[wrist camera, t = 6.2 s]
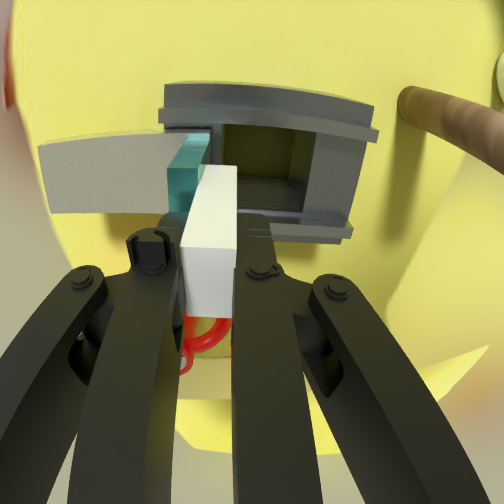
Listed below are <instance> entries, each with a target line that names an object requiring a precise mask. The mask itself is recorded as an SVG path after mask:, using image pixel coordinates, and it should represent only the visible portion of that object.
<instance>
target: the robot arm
mask: <svg viewBox="0 0 504 504" xmlns="http://www.w3.org/2000/svg"><path fill="white" fill-rule="evenodd" d="M126 244H127V249H128V253H129V258H130V263H131V267H130V270H129V271H128V272H126V273H123V274H118V275H113V276H107V277H104V274H103V272H102V271H101V269H100V268H98V267H96V266H92V265H85V266H80V267H77V268H75V269H73V270H71V271H70V272H69V273H68V274H67V275H66V276H65V277H64V278H63V279H62V280H61V281H60V282H59V283H58V285H57V286H56V287H55V288H54V289H53V290H52V291H51V293H50V294H49V295H48V296H47V297H46V299H45V300H44V301H43V302H42V303H41V304H40V306H39V307H38V308H37V310H36V311H35V312H34V313H33V314H32V316H31V317H30V318H29V320H28V321H27V322H26V323H25V325H24V326H23V327H22V329H21V330H20V331H19V333H18V334H17V335H16V337H15V338H14V339H13V341H12V342H11V343H10V345H9V346H8V348H7V349H6V351H5V352H4V354H3V355H2V356H1V358H0V504H46V503H47V501H48V498H49V496H50V493H51V490H52V488H53V486H54V483H55V481H56V478H57V476H58V474H59V471H60V469H61V467H62V464H63V462H64V460H65V458H66V455H67V453H68V451H69V449H70V447H71V444H72V442H73V440H74V438H75V436H76V434H77V438H76V443H75V449H74V454H73V461H72V466H71V473H70V481H69V489H68V499H67V504H171V477H172V458H173V457H172V456H173V442H174V428H175V416H176V405H177V395H178V384H179V376H180V367H181V359H182V351H183V343H184V335H185V323H184V315H185V308H186V315H187V316H194V317H215V318H232V330H231V373H232V374H231V377H232V378H231V380H232V381H231V384H232V385H231V387H232V388H231V390H232V391H231V393H232V457H233V459H232V460H233V495H234V504H323V499H322V491H321V484H320V476H319V469H318V462H317V455H316V448H315V441H314V435H313V428H312V422H311V416H310V410H309V404H308V398H307V392H306V386H305V380H304V374H305V376H306V378H307V380H308V382H309V385H310V387H311V389H312V391H313V393H314V395H315V397H316V400H317V402H318V404H319V406H320V408H321V410H322V412H323V415H324V417H325V419H326V421H327V423H328V425H329V427H330V429H331V432H332V434H333V436H334V438H335V440H336V442H337V444H338V447H339V449H340V451H341V453H342V455H343V457H344V459H345V461H346V463H347V466H348V468H349V470H350V472H351V474H352V476H353V478H354V480H355V482H356V485H357V487H358V489H359V491H360V493H361V495H362V497H363V499H364V502H365V504H491V503H490V501H489V499H488V496H487V494H486V492H485V490H484V488H483V486H482V484H481V481H480V479H479V477H478V475H477V473H476V472H475V469H474V468H473V466H472V464H471V462H470V460H469V458H468V456H467V454H466V452H465V450H464V449H463V447H462V445H461V443H460V441H459V440H458V438H457V436H456V434H455V432H454V431H453V429H452V427H451V425H450V424H449V422H448V420H447V419H446V417H445V415H444V414H443V412H442V410H441V409H440V407H439V405H438V404H437V402H436V400H435V399H434V397H433V396H432V394H431V392H430V391H429V389H428V388H427V386H426V384H425V383H424V381H423V380H422V378H421V377H420V375H419V374H418V372H417V371H416V369H415V368H414V366H413V365H412V363H411V362H410V360H409V359H408V357H407V356H406V354H405V353H404V351H403V350H402V348H401V347H400V345H399V344H398V342H397V341H396V340H395V338H394V337H393V335H392V334H391V332H390V331H389V330H388V328H387V327H386V325H385V324H384V323H383V321H382V320H381V318H380V317H379V316H378V314H377V313H376V312H375V310H374V309H373V307H372V306H371V305H370V303H369V302H368V301H367V299H366V298H365V297H364V295H363V294H362V293H361V291H360V290H359V289H358V287H357V286H356V285H355V284H354V283H353V282H352V281H351V280H349V279H347V278H345V277H343V276H340V275H336V274H324V275H321V276H319V277H317V278H316V279H315V280H314V282H313V284H310V283H307V282H303V281H299V280H296V279H293V278H291V277H289V276H287V275H286V274H285V273H284V270H283V268H282V266H281V265H280V264H278V263H277V261H276V255H275V250H274V245H273V239H272V234H271V231H270V224H269V220H268V219H267V218H266V217H265V216H264V215H263V214H257V213H237V166H228V165H205V166H204V169H203V172H202V175H201V178H200V181H199V184H198V187H197V190H196V193H195V196H194V199H193V202H192V206H191V209H190V212H179V211H169V212H168V213H167V214H165V215H164V216H163V217H162V218H161V219H160V221H159V224H158V227H157V228H146V229H143V230H140V231H137V232H135V233H134V234H132V235H130V237H129V238H128V239H127V240H126ZM81 332H82V334H81V335H80V333H81ZM79 335H80V336H79ZM78 336H79V337H78ZM303 372H304V374H303ZM77 432H78V433H77Z"/></svg>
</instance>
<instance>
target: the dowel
mask: <svg viewBox="0 0 504 504" xmlns="http://www.w3.org/2000/svg"><path fill="white" fill-rule="evenodd" d="M397 106H398V111H399V114H400V116H401V117H402V118H403V120H404V121H406V122H407V123H409V124H412V125H414V126H416V127H418V128H421V129H423V130H425V131H427V132H429V133H431V134H433V135H435V136H437V137H439V138H441V139H443V140H445V141H447V142H449V143H451V144H453V145H455V146H457V147H459V148H460V149H462V150H464V151H466V152H467V153H469V154H471V155H473V156H474V157H476V158H478V159H479V160H481V161H483V162H484V163H486V164H487V165H489V166H491V167H492V168H494V169H495V170H497V171H498V172H500V173H501V174H503V175H504V113H501V112H499V111H496V110H494V109H491V108H489V107H486V106H483V105H480V104H477V103H474V102H471V101H468V100H465V99H462V98H459V97H455V96H452V95H448V94H445V93H441V92H437V91H433V90H429V89H424V88H420V87H415V86H409V87H406V88H404V89H403V90H402V91H401V93H400V94H399V97H398V101H397Z"/></svg>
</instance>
